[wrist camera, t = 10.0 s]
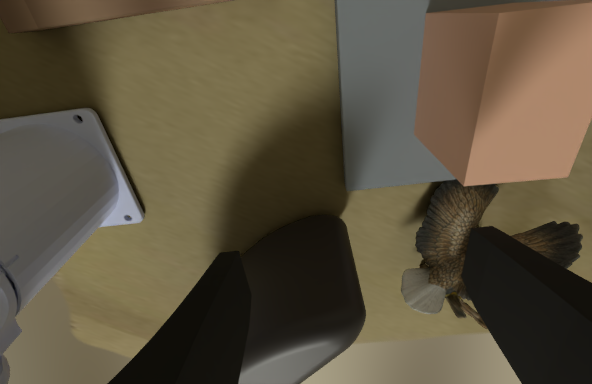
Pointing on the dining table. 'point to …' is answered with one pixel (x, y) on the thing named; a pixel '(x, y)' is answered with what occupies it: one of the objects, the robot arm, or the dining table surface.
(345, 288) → the dark rounded block
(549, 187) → the dining table surface
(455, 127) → the terracotta block
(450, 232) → the eagle figurine
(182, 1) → the brown wooden frame
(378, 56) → the mat
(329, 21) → the dining table surface
